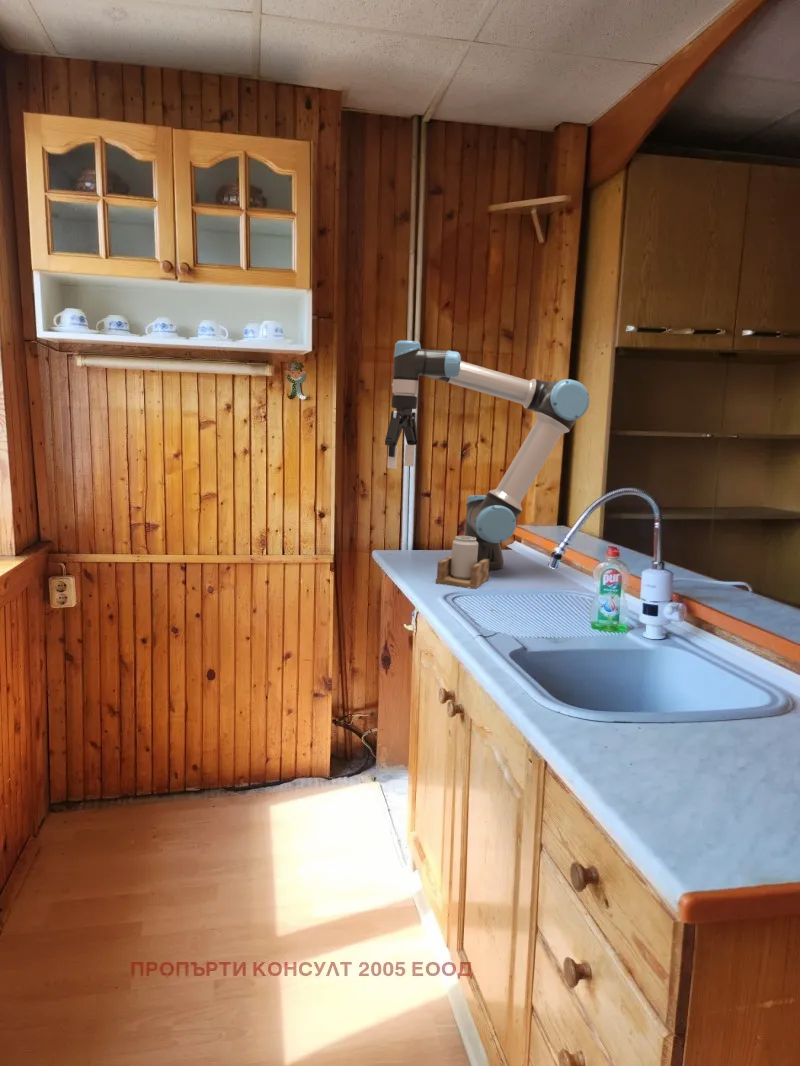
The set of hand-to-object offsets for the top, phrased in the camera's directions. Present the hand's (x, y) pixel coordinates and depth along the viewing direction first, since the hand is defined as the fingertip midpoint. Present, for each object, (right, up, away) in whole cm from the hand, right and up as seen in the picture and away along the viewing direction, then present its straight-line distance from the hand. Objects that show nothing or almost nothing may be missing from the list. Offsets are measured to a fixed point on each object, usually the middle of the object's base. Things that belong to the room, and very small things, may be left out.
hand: (400, 467), depth 216 cm
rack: (+18, -34, -4) cm, 39 cm away
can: (+18, -33, -4) cm, 38 cm away
